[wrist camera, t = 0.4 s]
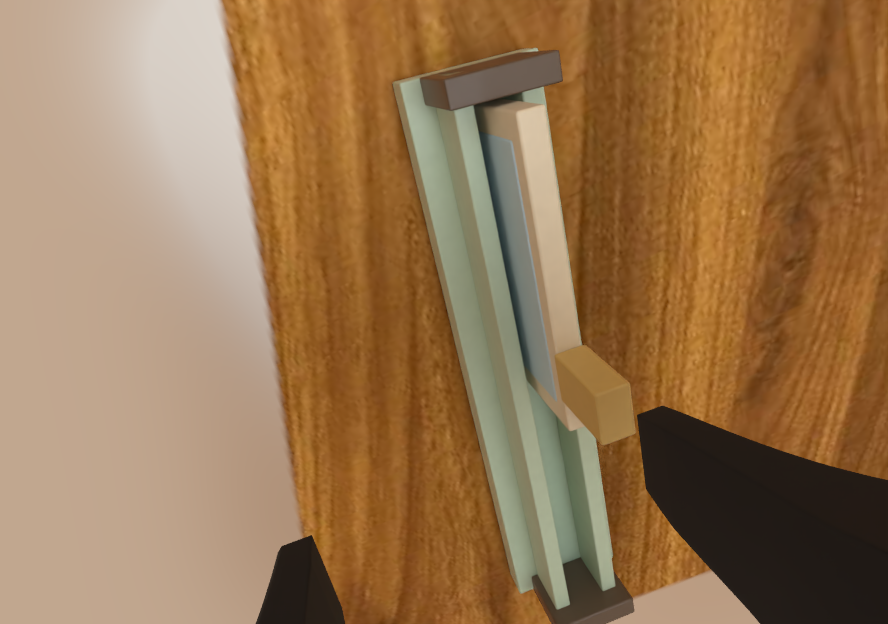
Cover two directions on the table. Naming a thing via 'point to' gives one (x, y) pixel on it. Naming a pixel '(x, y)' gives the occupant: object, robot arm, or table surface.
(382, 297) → the table surface
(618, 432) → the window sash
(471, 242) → the green sliding track
